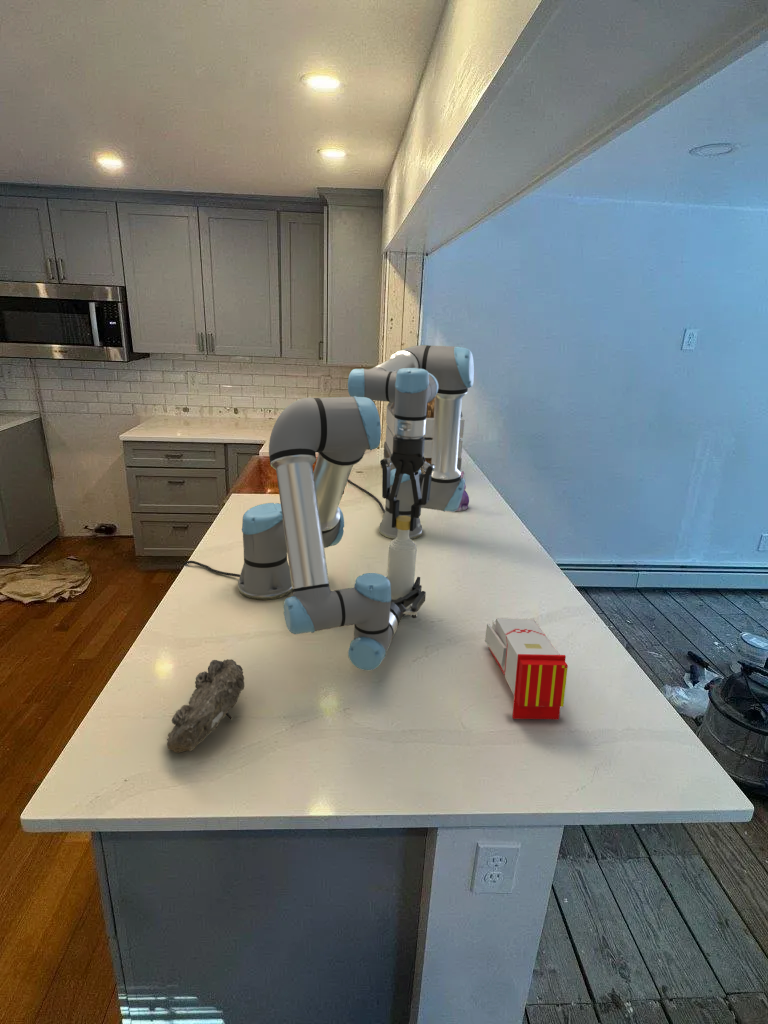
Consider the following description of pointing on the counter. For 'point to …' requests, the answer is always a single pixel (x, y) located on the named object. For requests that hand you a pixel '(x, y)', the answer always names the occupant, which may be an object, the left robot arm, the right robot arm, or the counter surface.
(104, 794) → the counter surface
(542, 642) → the toy
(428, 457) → the grey slatted box
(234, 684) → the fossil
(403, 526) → the cap
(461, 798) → the counter surface
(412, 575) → the bottle
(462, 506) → the figurine
